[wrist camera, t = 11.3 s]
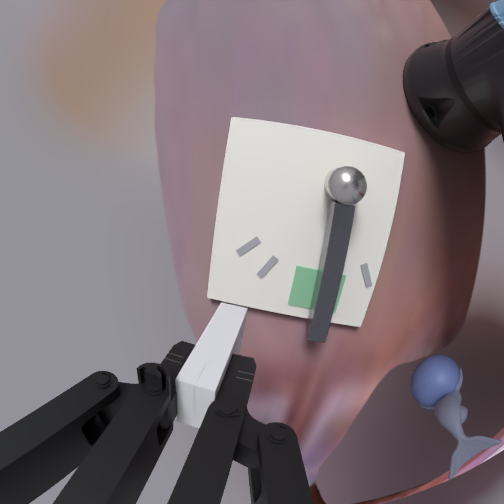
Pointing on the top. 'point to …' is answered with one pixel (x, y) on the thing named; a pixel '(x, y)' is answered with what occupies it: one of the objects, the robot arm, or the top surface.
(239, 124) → the dial board
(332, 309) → the ball-tipped lever
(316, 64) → the top surface
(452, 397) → the seal
